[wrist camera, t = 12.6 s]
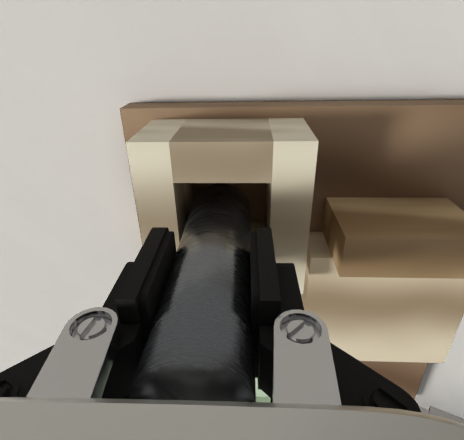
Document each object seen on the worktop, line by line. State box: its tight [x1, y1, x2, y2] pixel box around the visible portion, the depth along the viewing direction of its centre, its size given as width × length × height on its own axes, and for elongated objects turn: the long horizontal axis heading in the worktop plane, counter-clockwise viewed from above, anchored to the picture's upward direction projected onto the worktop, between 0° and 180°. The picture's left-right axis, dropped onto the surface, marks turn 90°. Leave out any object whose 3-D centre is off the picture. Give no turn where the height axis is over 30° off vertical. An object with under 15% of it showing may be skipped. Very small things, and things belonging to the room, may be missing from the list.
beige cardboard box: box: [301, 232, 464, 363], centre depth 19 cm, size 7×8×2 cm
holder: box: [126, 118, 319, 294], centre depth 16 cm, size 7×7×4 cm
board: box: [120, 99, 464, 399], centre depth 20 cm, size 22×18×6 cm
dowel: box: [129, 183, 256, 402], centre depth 12 cm, size 3×3×10 cm
